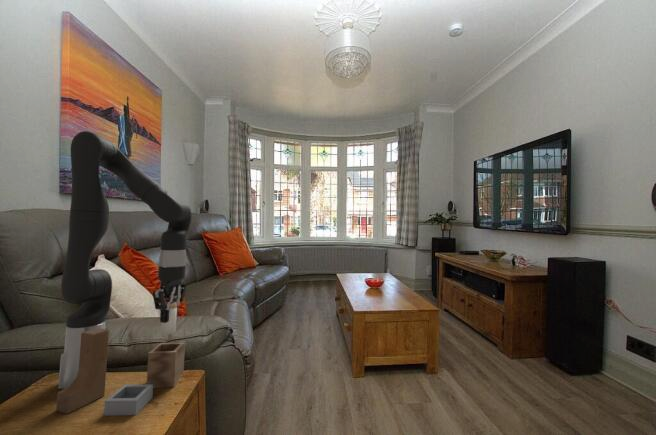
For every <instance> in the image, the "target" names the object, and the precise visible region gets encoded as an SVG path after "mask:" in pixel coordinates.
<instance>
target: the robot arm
mask: <svg viewBox="0 0 656 435" xmlns="http://www.w3.org/2000/svg"><path fill="white" fill-rule="evenodd" d="M70 164H71V196H70V197H71V199H70V209H69V221H68V223H69V224H68V226H69V228H68V231H69V232H68V242H67V250H66V251H67V252H66V258H65V262H64V267H63V272H62V277H61V283H60V292H61V297H62V298H63V300H64V301H65V303H67V304H69V305H70V304H71V305H75V304H81V306H80V307H78V309H76V310H75V311H74V312H72V313H70V314H69V315H68V316H67V318H66V320H65V321H66V322H65V323H66V325H65V336H64V338H65V339H64V351H63V353H62V354H61V355H60V363H59V373H58V374H59V375H58V388H57V389H59V390H63V389H65V388H67V387H68V386H70V385H71V383H72V382H73V381H74V380H75V379H76V377H77V373H78V370H79V358H80V344H81V333H82V332H85V331H89V330H92V329H96V328H101V329H106V324H107V322H106V321H107V318H106V317H107V315H108V313H109V312H110V305H111V298H112V291H113V290H112V289H113V280H112V277H111V274H110V273H109V272H108V271H107V270H105V269H103V268H99V269H98V268H96V269H90V264H91V260H92V254H93V252H94V250H95V249H96V247H97V246H98V244H99V243H100V242H101V240H102V239H103V237H104V236H105V235H106V233H107V230H108V228H109V219H110V215H109V214H110V208H109V207H110V206H109V203H108V198H107V197H106V195H105V192H104V189H103V188H102V185H101V181H100V167H101V168H104V169H106V170H107V171H108V172H110V173H112V174H114V175H115V176H117V177H118V178H119V179H120V180H121V182H123V184H124V186H126V188H127V189H128V191H130V192H131V193H132V194H133V195H134V196H135V197H137V198H138V199H140V200H141V202H143V203H145V204H146V205H147V206H148V207H149V209H151V211H152V212H153V213H154V214H155V215H156V216H157V217H158V218H160V219H161V220H162V221H164V222H166V223H168V225H167V229H166V230H165V231H164V232H162V233H161V237H160V238H161V240H160V251H159V256H158V271H157V280H158V281H160V285H159V289H158V290H152V297H153V303H154V304H153V305H154V309H155V310H160V314H159V321H160V323H167V322H168V321H169V307H170V303H171V302H172V301H176V302H177V317H176V319H177V318H178V316H179V306H180V305H181V303H183V302H184V299H185V294H186V289H187V286H188V284H187V283H183V282H182V281H183V280H184V279H185V278H186V267H187V251H186V250H187V236H188V233H189V230H190V225H191V221H192V209H191V207H190V206H189V205H188V204H187V203H185V202H183V201H178V200H176V199H174V198H172V196H170V195H169V194H168V192H167V190H166V189H165V188H164V187H163V186H162V185H160V184H159V183H158V182H157V181H155V180H154V179H153V178H151V177H150V176H149V175H148V174H147V173H145V172H144V171H143V170H141V169H140V168H139V167H137V166H136V165H135V164H134V163H133V162H132V161H130V159H129V158H128V157H127V156H126V155H125V154H124V153H123V152H122V150H121V149H119V147H117V144H115V143H114V142H113V141H111V140H109V139H107V138H105V137H103V136H101V135H99V134H97V133H95V132H92V131H88V130H87V131H86V130H85V131H79V132H78V133H77V134H75V136H73V139H72V140H71V143H70ZM165 302H167V303H166V306H165Z"/></svg>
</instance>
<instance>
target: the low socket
mask: <svg viewBox="0 0 656 435" xmlns="http://www.w3.org/2000/svg"><path fill="white" fill-rule="evenodd" d="M153 392H154V388H153V384H147V383H145V384H124V385H122V386H121V387H120V388H118V390H116V391H115V392H114V393H113V394H112V395H110V396H109V397H108V398H106V399H105V400H104V404H103V405H104V407H103V408H104V409H103V416H137V414H138V413H139V412H140V411H141V410H142V409H143V408H144V407H145V406H146V405H148V403H149V402H150V401H151V400H152V399H153V395H154V393H153Z"/></svg>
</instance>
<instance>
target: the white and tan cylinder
mask: <svg viewBox="0 0 656 435" xmlns="http://www.w3.org/2000/svg"><path fill="white" fill-rule="evenodd" d="M166 303H167V302H165V306H166ZM176 317H177V302H176V301H172V302H171V303H170V307H169V321H168V322H167V323H161V322H160V323H161V326H160V334H161V335H171V334H175V333H176V331H177V318H178V317H177V318H176Z"/></svg>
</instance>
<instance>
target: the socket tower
mask: <svg viewBox="0 0 656 435" xmlns="http://www.w3.org/2000/svg"><path fill="white" fill-rule="evenodd" d="M185 349H186V342H160V343H159V344H157V345H156V346H155V347H154V348H152V349H151V350H150V351H149V352H148V354H147V370H146V371H147V372H146V373H147V374H146V384H153V389H158V388H162V387H163V388H174V387H175V386H176V385H177V384H178V382H179V381H180V380H179V378H180V377H181V375H182V374H183V373H184V372H185V352H186V350H185ZM184 374H185V373H184ZM184 374H183V375H184ZM181 378H182V377H181ZM181 378H180V379H181ZM178 380H179V381H178ZM177 381H178V382H177ZM176 383H177V384H176ZM175 384H176V385H175ZM173 386H174V387H173Z"/></svg>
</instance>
